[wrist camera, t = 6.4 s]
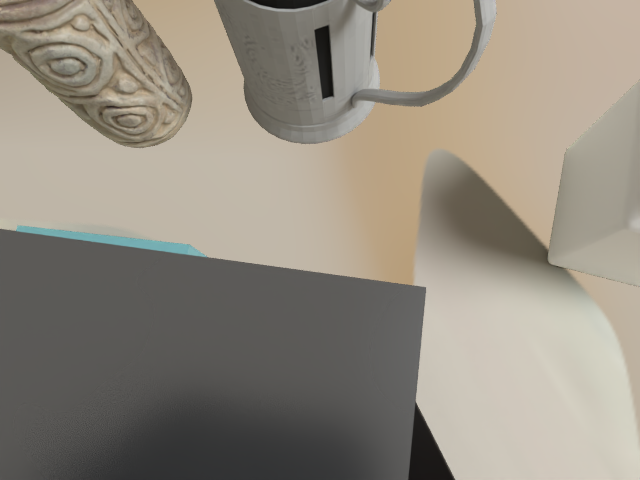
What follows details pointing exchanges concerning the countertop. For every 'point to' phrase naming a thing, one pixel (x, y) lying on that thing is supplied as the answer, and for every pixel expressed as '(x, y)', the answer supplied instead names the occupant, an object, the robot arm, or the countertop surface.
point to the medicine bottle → (602, 197)
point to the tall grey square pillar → (199, 367)
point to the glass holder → (322, 63)
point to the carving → (100, 65)
